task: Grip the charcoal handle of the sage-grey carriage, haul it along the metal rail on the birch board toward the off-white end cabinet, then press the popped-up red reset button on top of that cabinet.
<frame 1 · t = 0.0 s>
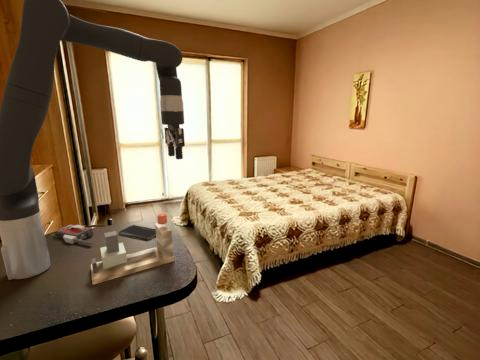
hand: (175, 157, 91), 29 cm above the table, tool pointing down, fingers open, 8 cm apart
rail base: (133, 264, 77), on the table
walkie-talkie: (79, 239, 95), on the table
carriage: (112, 246, 73), point 7 cm above the table, slide at 0.0 cm
reset button: (162, 218, 79), point 13 cm above the table, slide at 0.0 cm
phone: (140, 234, 99), on the table
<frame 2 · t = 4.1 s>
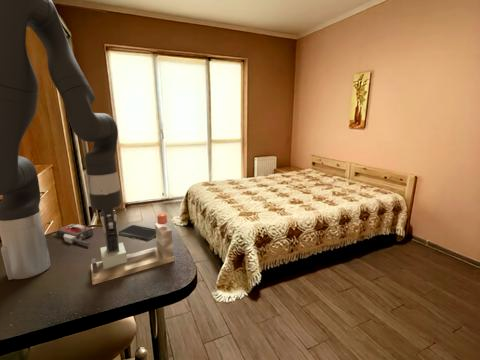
hand: (112, 247, 73), 7 cm above the table, tool pointing down, fingers closed on carriage, 3 cm apart
carriage: (112, 246, 73), point 7 cm above the table, slide at 0.0 cm, touching gripper
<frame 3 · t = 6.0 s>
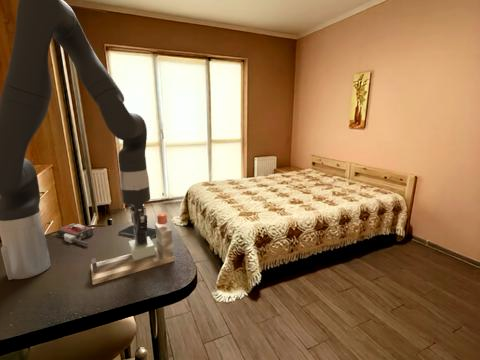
hand: (141, 240, 77), 7 cm above the table, tool pointing down, fingers closed on carriage, 3 cm apart
carriage: (140, 240, 77), point 7 cm above the table, slide at 7.7 cm, touching gripper
everything else where it was.
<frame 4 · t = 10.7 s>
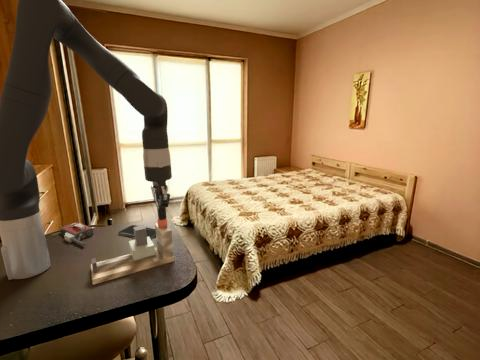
hand: (162, 218, 79), 13 cm above the table, tool pointing down, fingers closed
carriage: (140, 240, 77), point 7 cm above the table, slide at 7.7 cm
reset button: (162, 222, 79), point 11 cm above the table, slide at 1.2 cm, touching gripper
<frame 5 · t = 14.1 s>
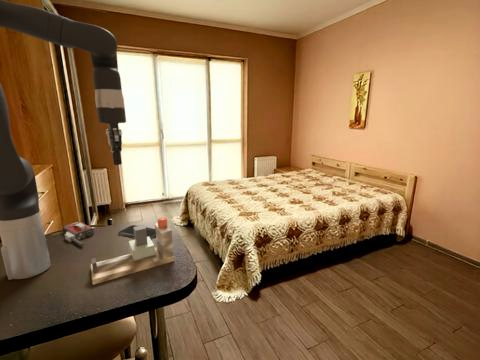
hand: (117, 164, 79), 29 cm above the table, tool pointing down, fingers closed
reset button: (162, 222, 79), point 11 cm above the table, slide at 1.3 cm
at the end: carriage slide at 7.7 cm; reset button slide at 1.3 cm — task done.
